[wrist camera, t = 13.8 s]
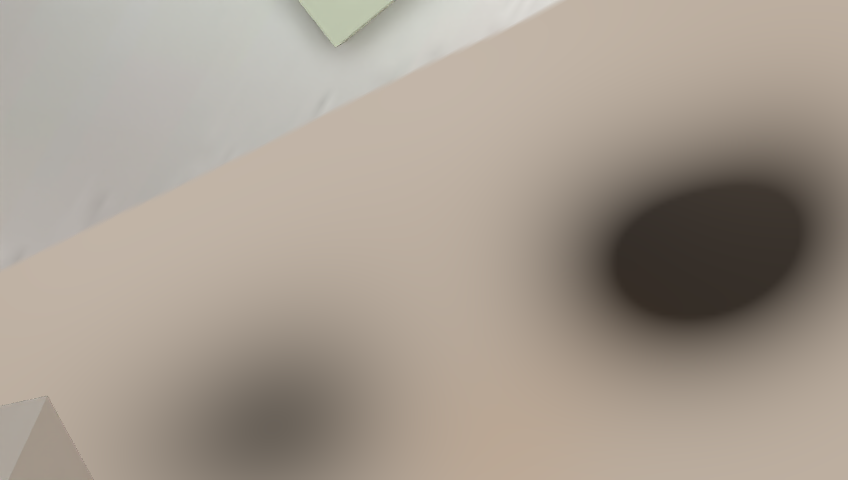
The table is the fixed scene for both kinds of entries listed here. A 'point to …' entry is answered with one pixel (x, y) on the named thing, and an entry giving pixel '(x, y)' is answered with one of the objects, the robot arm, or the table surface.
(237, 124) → the table surface
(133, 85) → the table surface
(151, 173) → the table surface
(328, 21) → the base block
